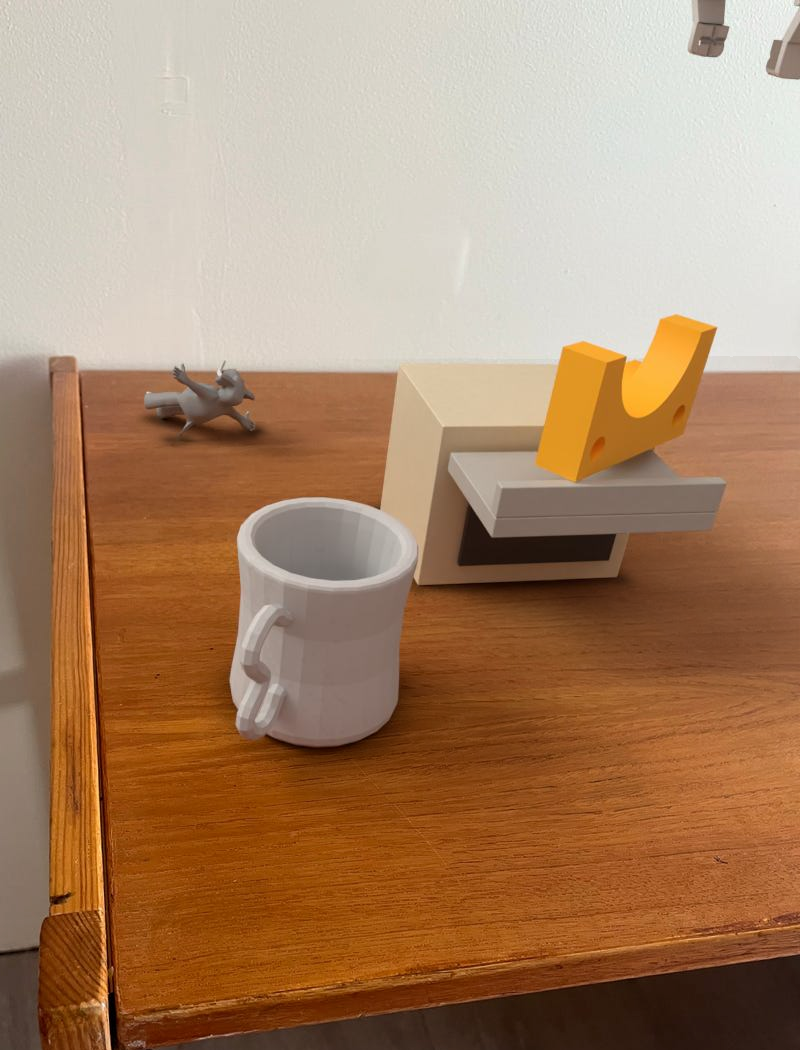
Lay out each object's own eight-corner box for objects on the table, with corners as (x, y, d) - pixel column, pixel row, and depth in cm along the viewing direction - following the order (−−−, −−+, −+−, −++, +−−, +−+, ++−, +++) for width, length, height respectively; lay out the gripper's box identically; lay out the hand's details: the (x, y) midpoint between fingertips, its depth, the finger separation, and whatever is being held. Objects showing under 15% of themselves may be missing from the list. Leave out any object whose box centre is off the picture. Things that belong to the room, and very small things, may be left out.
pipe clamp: (620, 410, 64) (649, 305, 61) (683, 434, 62) (717, 327, 58) (508, 453, 57) (534, 336, 53) (575, 482, 54) (607, 362, 51)
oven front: (560, 506, 77) (596, 358, 70) (677, 652, 62) (736, 482, 56) (379, 510, 74) (399, 356, 68) (457, 665, 60) (492, 487, 53)
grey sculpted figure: (200, 400, 88) (285, 391, 83) (185, 466, 87) (269, 461, 82) (118, 343, 80) (206, 329, 75) (100, 414, 79) (188, 405, 74)
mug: (281, 631, 61) (292, 478, 55) (422, 684, 58) (450, 528, 52) (159, 749, 52) (157, 580, 46) (320, 819, 49) (340, 648, 43)
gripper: (1014, -239, 47) (893, 96, 55) (773, -208, 64) (706, 48, 72) (896, -257, 46) (790, 89, 54) (680, -220, 62) (623, 42, 70)
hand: (741, 66), depth 63 cm, fingers open, 8 cm apart
